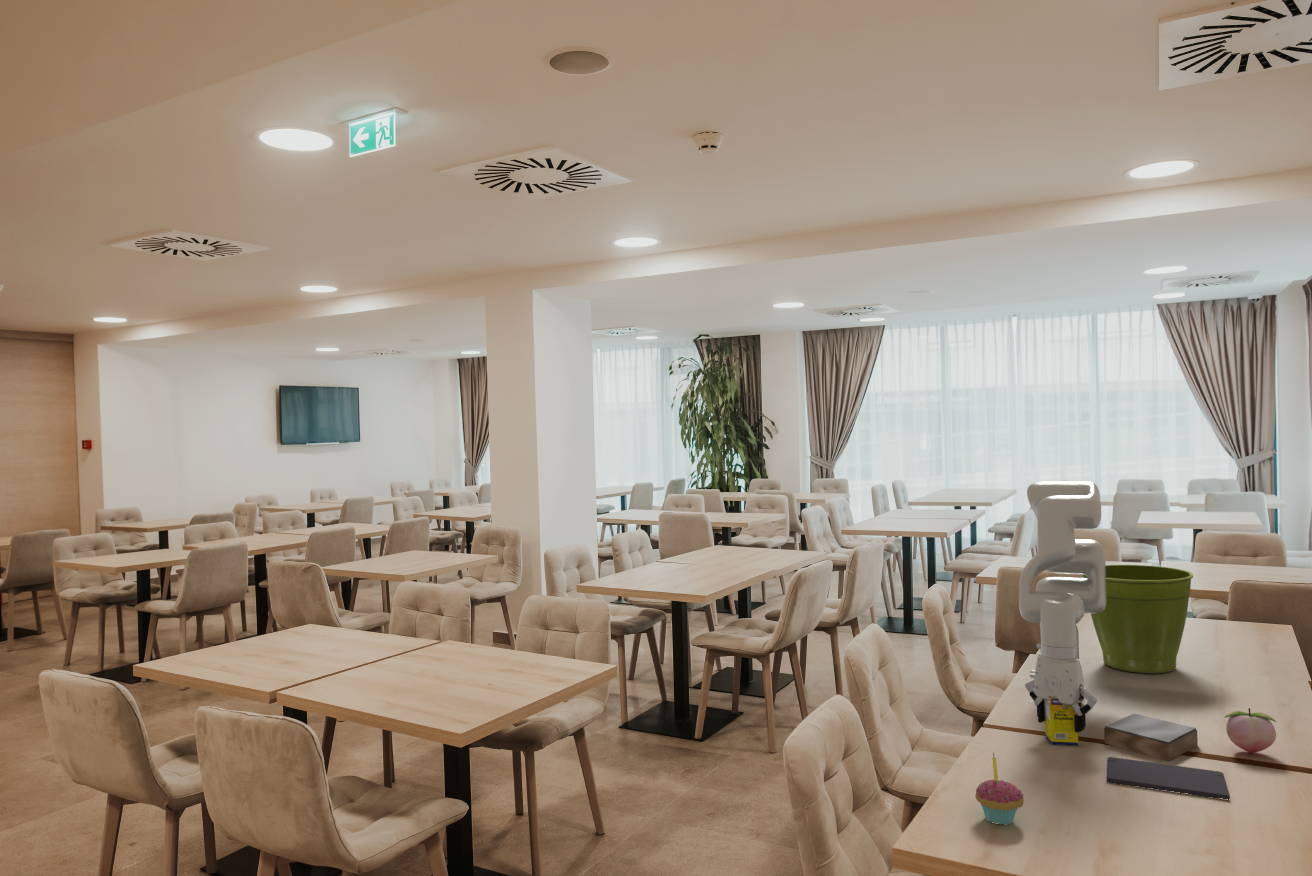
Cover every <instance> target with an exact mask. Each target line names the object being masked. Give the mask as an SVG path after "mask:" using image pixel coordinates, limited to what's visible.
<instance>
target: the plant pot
mask: <svg viewBox="0 0 1312 876" xmlns="http://www.w3.org/2000/svg"><path fill="white" fill-rule="evenodd" d="M1105 565H1106V592H1107V602H1106V608H1105V610H1104V611H1103V612H1101V613H1097V614H1092V613H1090V615H1091V617H1090V618H1091V620H1092V622H1093V623H1092V624H1093V626H1094V631H1095V633H1096V636H1097V640H1098V642H1099V645H1100V648H1101V651H1102V659H1103V662H1104V664H1105V665H1107V666H1109V667H1110V668H1113V669H1116V670H1118V671H1124V672H1130V673H1138V674H1139V673H1140V674H1161V673H1168V672H1169V673H1170V672H1172V671H1174V670H1175V669H1176V668H1177V658H1178V654H1179V650H1180V646H1181V642H1182V638H1183V635H1184V631H1185V625H1186V622H1187V621H1186V619H1187V615H1188V607H1189V602H1190V600H1189V599H1190V595H1191V587H1192V586H1191V584H1192V579H1193V578H1194V573H1192V572H1190V571H1188V570H1184V569H1179V568H1176V567H1167V566H1157V565H1156V566H1155V565H1145V564H1144V565H1142V564H1141V565H1140V564H1105ZM1081 575H1082V578H1088V577H1087V576H1086V575H1083V574H1081Z"/></svg>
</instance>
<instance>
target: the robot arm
mask: <svg viewBox="0 0 1312 876" xmlns="http://www.w3.org/2000/svg"><path fill="white" fill-rule="evenodd" d="M1100 494H1101V493H1100V489H1099V487H1098V485H1097V484H1095V483H1094V482H1092V481H1063V480H1062V481H1059V480H1057V481H1038V482H1037V481H1036V482H1034V483H1031V484H1030V485H1028V487H1027V489H1026V496H1027V501H1028V503H1029V505H1030V507H1031V509H1032V512H1033V513H1034V515H1035V517H1036V520H1037V552H1036V554H1035V555H1034V556H1033V557H1032V558H1031V559H1030V560H1029V561H1028V562H1027V563H1026V564H1025V566H1024V567H1023V569H1022V571H1021V574H1020V576H1019V582H1018V606H1019V607H1018V608H1019V609H1018V610H1019V612H1020V613H1019V614H1020V616H1021V618H1023V619H1024V620H1025V621H1028V622H1029V623H1039V627H1040V642H1037V643H1036V649H1037V650H1038V649H1039V650H1040V654H1038V655H1037V658H1036V662H1035V669H1031V670H1030V672H1029V678H1030V679H1033V680H1031V681H1028V682H1026V683H1025V684H1024V686H1025V688H1026V690H1027V692H1028V693H1029V697H1031V699H1032V700H1033V702H1034V704H1035V706H1036V716H1037V722H1038V723H1041V724H1042V723H1045V707H1044V699H1045V700H1048V697H1055V698H1058V699H1059V702H1060V703H1062V704H1066V705H1072V707H1073V708H1074V710H1075V712H1076V713H1077V714H1076V715H1074V725H1075V732H1077V733H1078V734H1079V733H1081V732H1083V731H1085V729H1086V726H1087V723H1086V718H1087V717H1086V715H1087V714H1088V713H1089V712H1090V711H1091V710H1092V709H1093V708H1094V706H1095V705H1096V704H1097V702H1098V699H1097V697H1095V696H1094V695H1093V694H1092V693H1091V692H1089V690H1087V688H1086V687H1085V680H1084V674H1083V669H1082V665H1081V661H1080V645H1079V644H1080V642H1079V639H1080V638H1079V628H1078V626H1077V624H1079V622H1080V621H1081V620H1082V619H1083V617H1084V616H1085V614H1091V613H1092V614H1097V613H1101V612H1103V611H1104V610H1105V608H1106V602H1107V592H1106V565H1107V564H1106V555H1105V549H1104V547H1103V545H1102V543H1100V542H1099V541H1097V540H1095V539H1085V538H1084V539H1081V538H1080V539H1079V538H1075V530H1078V529H1080V530H1081V529H1083V530H1084V529H1085V530H1094V529H1097V528H1099V526H1100V524H1101V521H1102V519H1101V518H1102V503H1101V495H1100ZM1045 571H1046V572H1047V573H1052V574H1066V575H1082V574H1083V575H1086V576H1087V577H1088V578H1083V577H1072V576H1071V577H1070V576H1069V577H1067V576H1048V577H1047V576H1046V577H1043V578H1041V579H1039V580H1038V582H1037V583H1036V587H1035V590H1032V583H1033V580H1034V579H1035V578H1036V577H1037V576H1038V575H1039V574H1041V573H1042V572H1045ZM1083 575H1082V576H1083ZM1085 700H1086V701H1087V702H1086V703H1085V704H1084V701H1085Z"/></svg>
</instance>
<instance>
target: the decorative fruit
mask: <svg viewBox="0 0 1312 876" xmlns="http://www.w3.org/2000/svg"><path fill="white" fill-rule="evenodd" d="M1225 718H1227V721H1226V725H1225V726H1226V727H1225V728H1226V734H1227V736H1228V739H1230V741H1231V742H1232V743H1233V744H1234V745H1235V746H1236V747H1238V748H1240V749H1241V750H1244V751H1245V752H1247V753H1250V754H1256V753H1260V752H1261V751H1262V752H1263V751H1264V750H1267V749H1268V748H1270V747H1271V746H1272V745H1274V743H1275V742H1276V739H1277V732H1276V729H1275V726H1274V724H1273V723H1272V722H1271V721H1273V722H1274V723H1277V720H1276V719H1274V718H1273V717H1272V716H1270V715H1269V714H1266V713H1264V712H1263V713H1262V712H1251V708H1250V707H1248V711H1241V710H1235V711H1231V712H1228V713H1227V714H1226V715H1225V716H1224V719H1225Z"/></svg>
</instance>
